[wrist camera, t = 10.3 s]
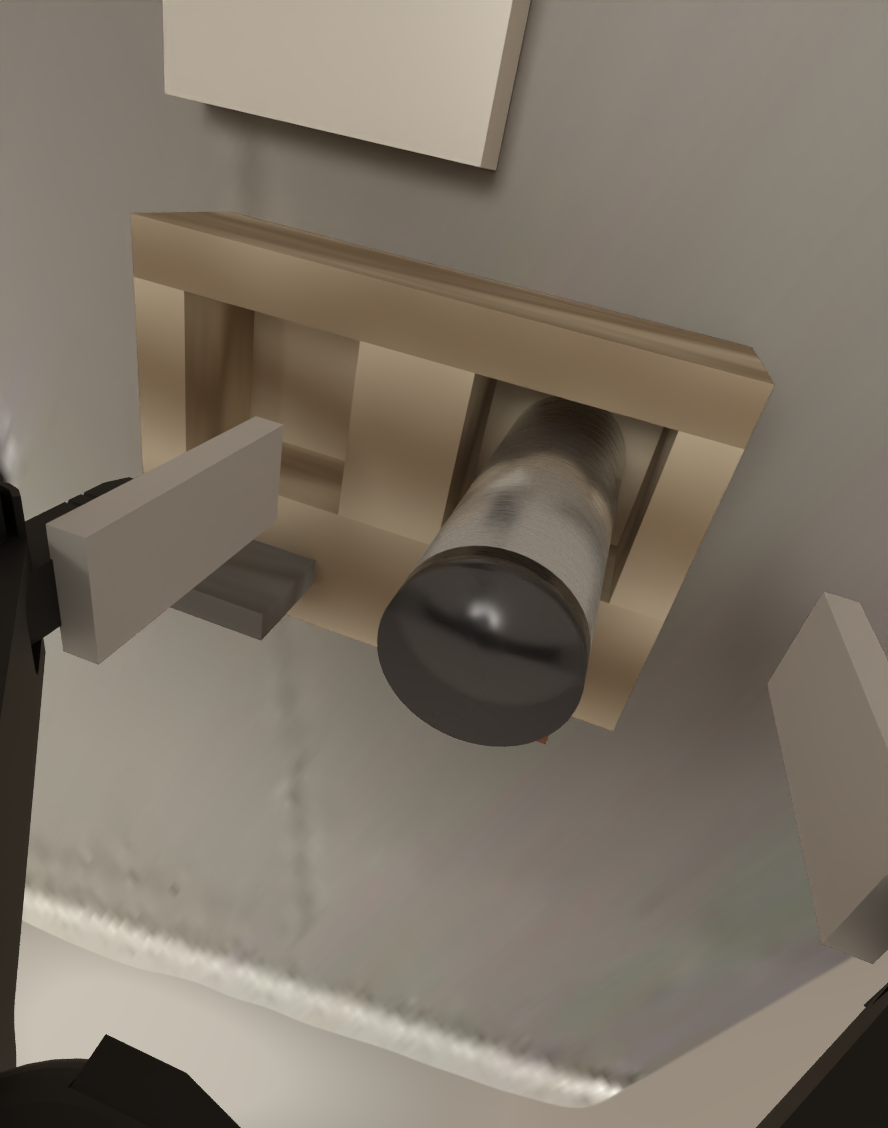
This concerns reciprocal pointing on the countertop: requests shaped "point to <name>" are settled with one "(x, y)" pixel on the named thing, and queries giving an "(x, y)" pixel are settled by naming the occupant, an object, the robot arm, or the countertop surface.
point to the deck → (356, 67)
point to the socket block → (418, 419)
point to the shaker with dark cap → (512, 584)
